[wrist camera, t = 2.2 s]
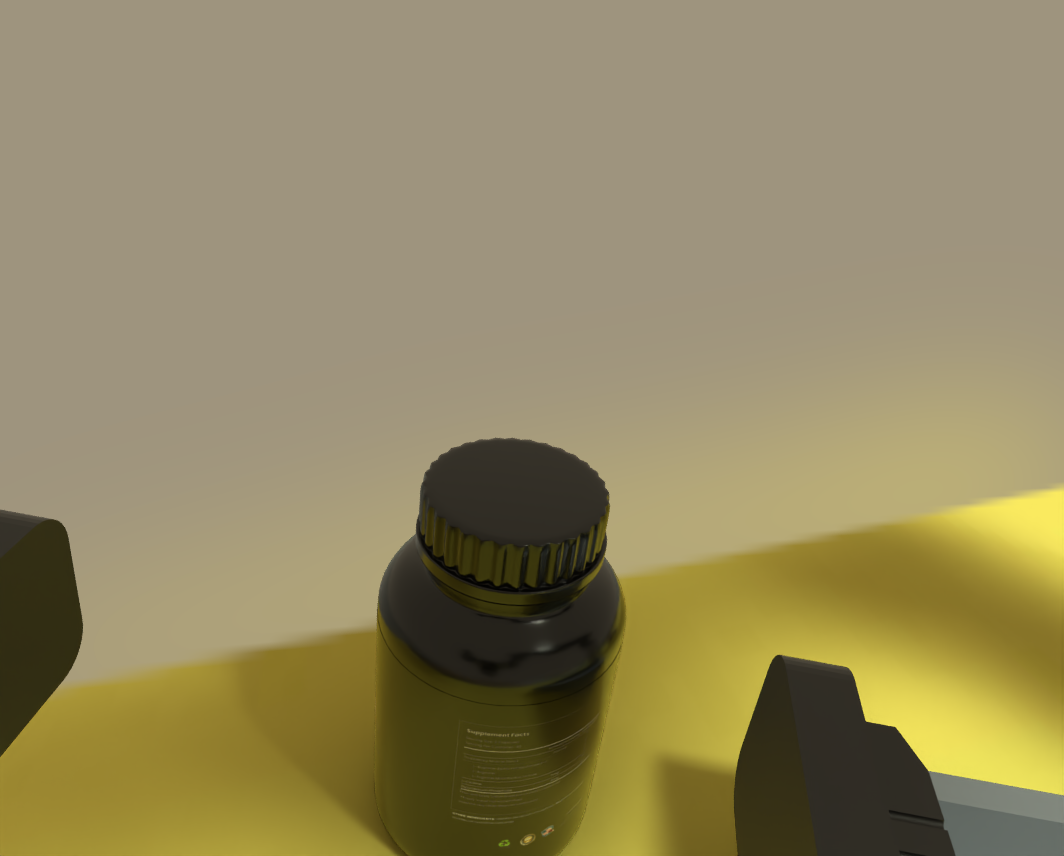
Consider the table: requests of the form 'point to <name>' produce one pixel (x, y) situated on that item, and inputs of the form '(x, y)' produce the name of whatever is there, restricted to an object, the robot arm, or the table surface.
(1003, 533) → the table surface
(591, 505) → the supplement bottle
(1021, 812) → the tray
